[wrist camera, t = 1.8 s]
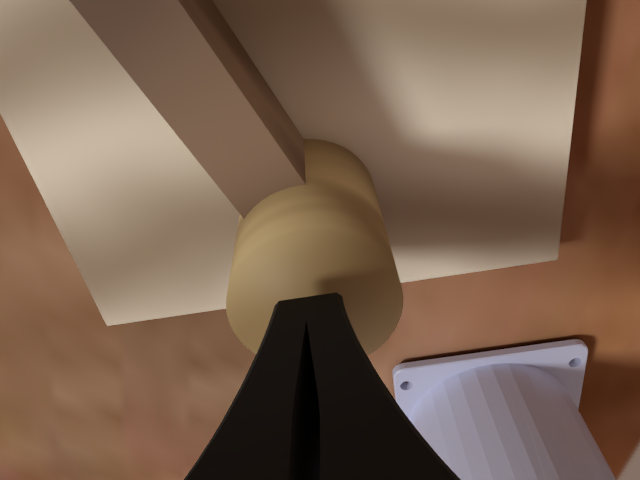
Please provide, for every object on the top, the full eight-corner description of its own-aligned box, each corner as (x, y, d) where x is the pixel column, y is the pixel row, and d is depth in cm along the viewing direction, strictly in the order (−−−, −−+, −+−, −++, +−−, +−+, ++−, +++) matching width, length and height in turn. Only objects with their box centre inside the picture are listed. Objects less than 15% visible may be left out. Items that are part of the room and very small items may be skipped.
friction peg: (397, 218, 17) (431, 327, 13) (289, 273, 18) (288, 392, 14) (18, -407, 9) (-200, -642, 5) (-130, -253, 10) (-412, -346, 6)
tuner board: (543, 240, 19) (557, 259, 18) (116, 304, 20) (106, 325, 19) (620, -586, 10) (658, -641, 9) (-218, -401, 10) (-273, -432, 9)
